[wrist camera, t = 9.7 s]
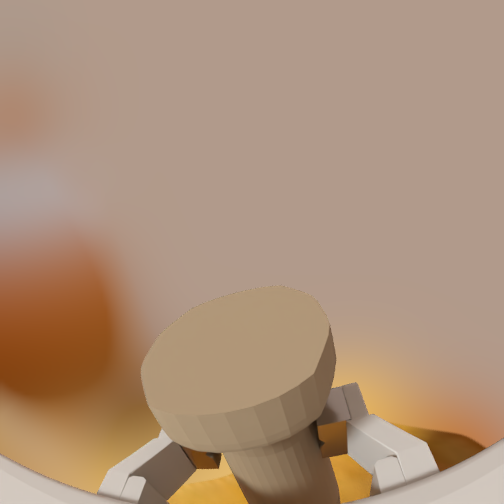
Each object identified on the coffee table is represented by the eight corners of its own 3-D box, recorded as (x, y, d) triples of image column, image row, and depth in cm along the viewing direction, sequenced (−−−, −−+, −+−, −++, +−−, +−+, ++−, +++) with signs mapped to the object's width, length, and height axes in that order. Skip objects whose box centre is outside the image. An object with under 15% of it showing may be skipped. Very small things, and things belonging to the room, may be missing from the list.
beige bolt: (341, 487, 13) (300, 275, 11) (362, 562, 7) (364, 376, 4) (268, 503, 14) (175, 307, 11) (273, 580, 7) (107, 422, 4)
